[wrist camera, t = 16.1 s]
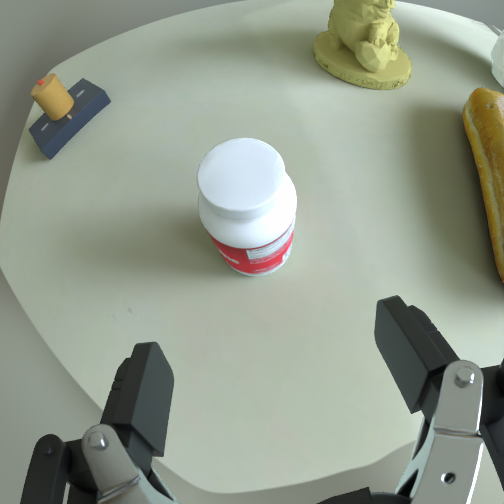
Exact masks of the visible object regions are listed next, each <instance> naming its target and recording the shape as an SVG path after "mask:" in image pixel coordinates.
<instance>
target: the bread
mask: <svg viewBox="0 0 504 504" xmlns="http://www.w3.org/2000/svg"><path fill="white" fill-rule="evenodd" d="M462 116H463V123H464V127H465V131H466V134H467V137H468V139H469V142H470V144H471V147H472V152H473V154H474V160H475V163H476V166H477V169H478V173H479V177H480V183H481V189H482V194H483V198H484V204H485V208H486V213H487V219H488V226H489V231H490V237H491V241H492V248H493V252H494V256H495V263H496V267H497V270H498V272H499V275H500V277H501V279H502V282H503V284H504V94H502V93H499V92H497V91H494V90H491V89H487V88H483V87H482V88H477V89H475V90H474V91H473V93H472V94H471V95H470V97H469V100H468V101H467V102H466V104H465V106H464V109H463V115H462Z"/></svg>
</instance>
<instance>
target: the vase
mask: <svg viewBox="0 0 504 504" xmlns="http://www.w3.org/2000/svg"><path fill="white" fill-rule="evenodd" d="M491 58H492V61H493V66H492V74H493V76H494V77H495V79H496V80H497V81H498V82H499V83H500V85H501V86H502V87H503V88H504V29H503V31H502V33H501V35H500V36H499V38H498V40H497V42H496V44H495V46H494V48H493V50H492V52H491Z"/></svg>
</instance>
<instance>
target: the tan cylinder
mask: <svg viewBox="0 0 504 504" xmlns="http://www.w3.org/2000/svg"><path fill="white" fill-rule="evenodd" d="M31 96H32V97H33V98H34V100H35V101H36V102H37V103H38V104H39V106H40V107H41V108H42V109H43V111H44V112H45V113H46V114H47V115H48V117H49V118H50V119H51V120H52V121H56V120H59V119H60V118H62V117H63V116H65V115H66V114H67V113H68V112H69V111H70V109H71V108H72V106H73V104H74V100H73V99H72V97H71V96H70V94H69V93H68V92H67V90H66V89H65V87H64V86H63V84H62V83H61V82H60V80H59V79H58V77H57V76H56V74H55V73H52V74H49V75H47V76H46V77H45V78H43V79H42V80H38V81H37V85H36V86H35V87H34V88H33V90H32V92H31Z"/></svg>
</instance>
